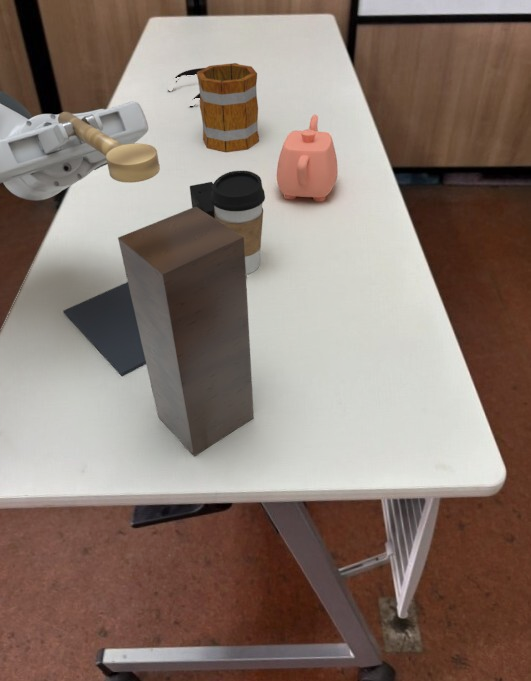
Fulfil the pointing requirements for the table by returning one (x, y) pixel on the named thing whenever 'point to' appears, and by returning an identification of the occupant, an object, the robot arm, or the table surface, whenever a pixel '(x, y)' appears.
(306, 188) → the teapot
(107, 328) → the mat
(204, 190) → the digital camera
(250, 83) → the wooden barrel
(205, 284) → the stand
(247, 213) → the coffee cup
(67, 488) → the table surface
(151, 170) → the spoon
